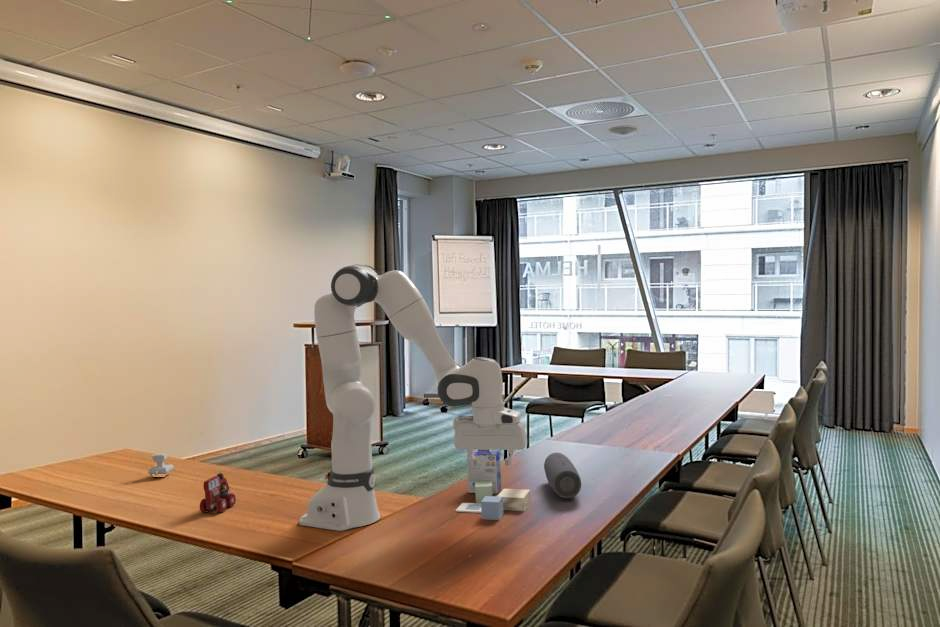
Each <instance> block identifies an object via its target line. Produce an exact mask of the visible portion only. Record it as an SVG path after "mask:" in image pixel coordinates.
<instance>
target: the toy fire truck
mask: <svg viewBox="0 0 940 627" xmlns="http://www.w3.org/2000/svg"><path fill="white" fill-rule="evenodd" d="M203 490H204V497H205V498H202V499H201V501H200V502H199V510H200V512H201V513H203V512H204V513H207V512H206V511H208V510H209V511H210V510H216V512H218V513H224V512H225V511H226V510H227V508H232V507H231V506H233V505H234V504H236V501H237V498H236V495H235V493H231V492H230V491H231V490H230V486H229V483H228V480H227V478H226V477H224V474H223V473H221V472H219V473H217V474H216V475H215V476H213V477H210V478H208V479H206V480H204V482H203ZM234 506H235V505H234ZM234 506H233V507H234ZM209 511H208V512H209ZM223 511H224V512H223Z"/></svg>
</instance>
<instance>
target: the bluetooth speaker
mask: <svg viewBox="0 0 940 627" xmlns="http://www.w3.org/2000/svg"><path fill="white" fill-rule="evenodd" d="M543 469H544V472H545V477H546V480H547V482H548V483H549V485H550V487H551V488H552V490H553V491H554V493H556V494H557V496H559V497H560V498H562V499H563V498H564V499H570V498H574V497H576V496H577V495H579V493H580V491H581V489H582V479H581V477H580V474H579V472H578V470H577V468H576V467H575V465H574V464H573V462H572V461H571V460H570V458H568V456H566V455H565V454H563V453H560V452H552V453H550V454H549V455H548V456H546V458H545V460H544V463H543Z"/></svg>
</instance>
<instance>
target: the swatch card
mask: <svg viewBox="0 0 940 627" xmlns="http://www.w3.org/2000/svg"><path fill="white" fill-rule="evenodd" d="M455 512H457V513H477V514H482V513H481V503H476V502H461V504H460V505H459V506H458V507H457V508H456V509H455Z"/></svg>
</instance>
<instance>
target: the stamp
mask: <svg viewBox="0 0 940 627" xmlns="http://www.w3.org/2000/svg"><path fill="white" fill-rule="evenodd" d="M151 459H152V460H153V462H155V463H156V465H154V466H152V467H150V468H149V469H148V472H147V474H148V475H149V476H151V475H152V474H155V475H158V474H167V473H168V472H170V471H171V470H172V471H173V469H174V468H175V466H174V464H172V463H168V464H165V461H166V460H168V452H167V453H166V452H163V453H155V454H153V455H151ZM172 471H171V472H172Z"/></svg>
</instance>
